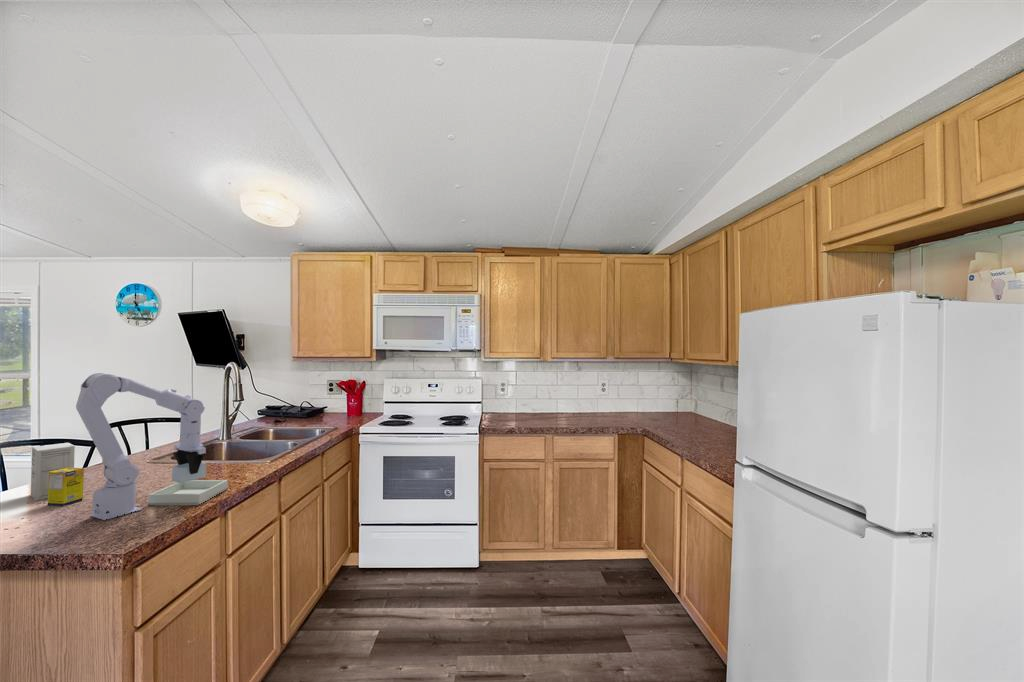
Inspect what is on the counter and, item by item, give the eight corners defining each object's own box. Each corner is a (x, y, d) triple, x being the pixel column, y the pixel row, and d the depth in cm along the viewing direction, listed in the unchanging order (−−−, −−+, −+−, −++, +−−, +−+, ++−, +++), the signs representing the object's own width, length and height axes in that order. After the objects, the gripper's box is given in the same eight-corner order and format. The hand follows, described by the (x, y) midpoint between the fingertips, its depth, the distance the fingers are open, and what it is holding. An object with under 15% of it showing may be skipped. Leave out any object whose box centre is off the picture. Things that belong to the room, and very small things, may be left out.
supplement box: (83, 500, 144) (84, 467, 145) (63, 506, 138) (64, 472, 139) (67, 499, 145) (69, 466, 145) (46, 505, 139) (48, 471, 139)
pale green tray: (199, 505, 142) (199, 494, 142) (147, 505, 140) (148, 494, 140) (227, 489, 158) (227, 479, 158) (181, 489, 156) (182, 480, 156)
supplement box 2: (68, 488, 156) (70, 441, 157) (74, 493, 151) (76, 445, 151) (29, 495, 148) (31, 446, 149) (34, 500, 143) (36, 450, 144)
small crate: (180, 483, 145) (181, 468, 145) (171, 481, 147) (172, 466, 147) (205, 476, 152) (206, 462, 152) (196, 475, 154) (197, 461, 154)
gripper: (215, 433, 151) (214, 472, 150) (189, 429, 156) (188, 467, 156) (193, 436, 144) (192, 477, 144) (168, 433, 150) (166, 472, 150)
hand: (188, 472), depth 149 cm, fingers closed on small crate, 5 cm apart
